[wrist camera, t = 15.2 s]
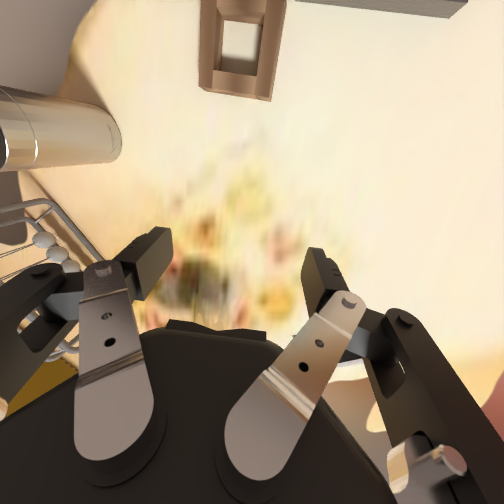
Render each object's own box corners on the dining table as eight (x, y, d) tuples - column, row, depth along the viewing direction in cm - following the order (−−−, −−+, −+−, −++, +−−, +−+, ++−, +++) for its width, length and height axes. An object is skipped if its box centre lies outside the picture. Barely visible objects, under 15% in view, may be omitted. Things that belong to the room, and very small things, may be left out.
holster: (206, 91, 32) (198, 86, 29) (210, -4, 27) (201, -20, 25) (270, 101, 31) (268, 97, 28) (286, 5, 26) (285, -11, 24)
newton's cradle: (138, 299, 55) (76, 358, 40) (113, 309, 59) (47, 367, 43) (51, 195, 46) (-76, 220, 30) (27, 215, 50) (-96, 246, 34)
